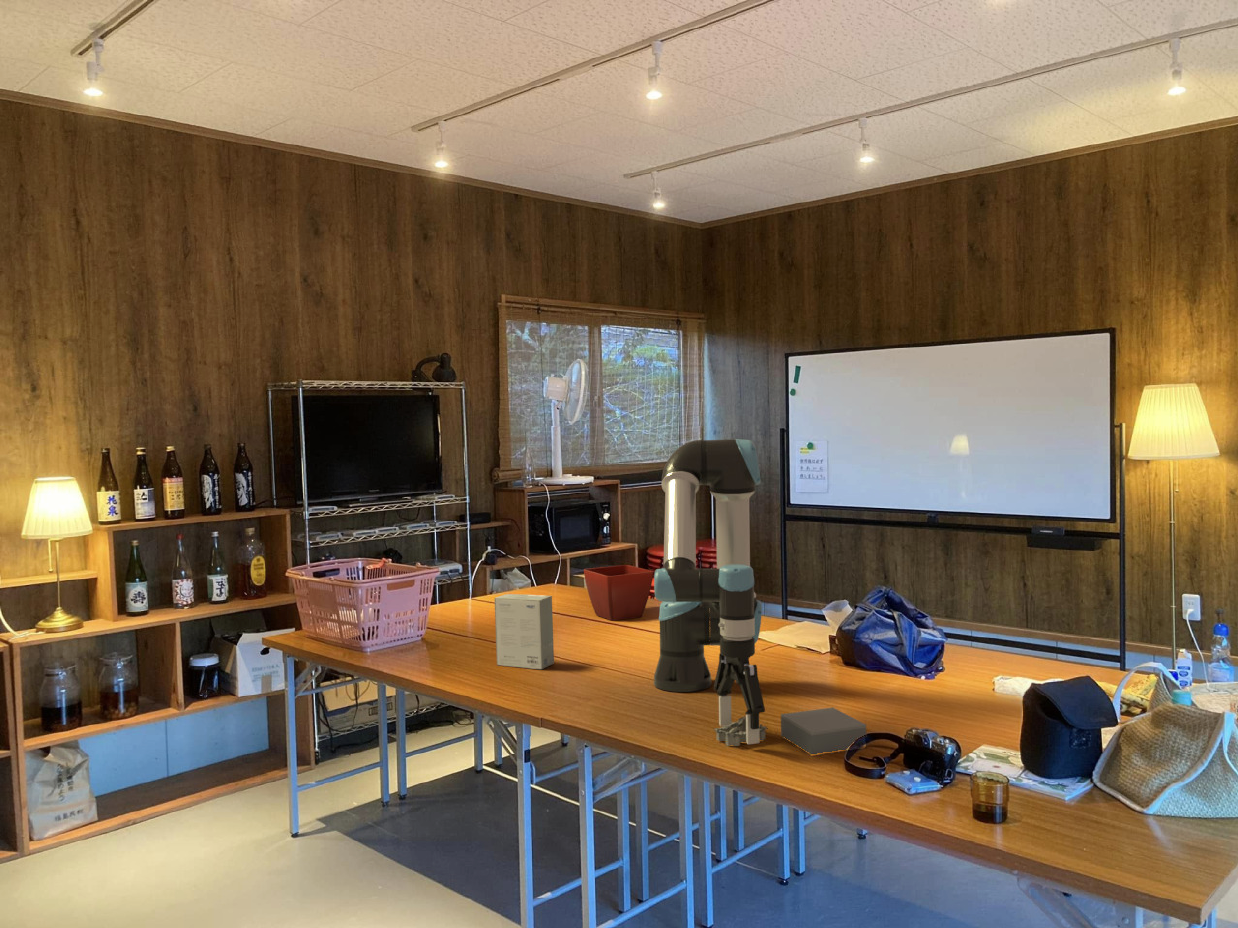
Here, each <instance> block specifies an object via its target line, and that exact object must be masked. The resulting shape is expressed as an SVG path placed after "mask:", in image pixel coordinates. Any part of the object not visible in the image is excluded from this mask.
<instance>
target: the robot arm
mask: <svg viewBox="0 0 1238 928" xmlns="http://www.w3.org/2000/svg"><path fill="white" fill-rule="evenodd" d="M670 455H671V456H670V457H669V458H668V460H667V461H666V463H665V465H664V467H663V470H662V474H661V488H662V491H663V492H664V493H665V496H664V501H665V502H664V537H663V539H664V540H663V567H662V568H657V569H655V571H654V574H653V580H654V581H653V582H654V584H653V585H654V587H653V589H654V598H655V599H656V601H659V602H660V605H659V616H658V621H659V650H660V651H659V659H658V662H657V664H656V668H655V672H654V674H653V685H654V687H655V688H656V689H659V690H662V691H666V692H674V693H675V692H676V693H677V692H678V693H690V692H699V691H702V690H706V689H708V688H710V687H711V686H712V675H711V672H710V669H709V665H708V662H707V660H706V657H705V646H719V654H718V665H717V669H716V674H715V680H714V684H713V690H714V691H716V693H717V696H718V725H719V726H720V727H722V726H724V725H729V724H732V722H733V720H732V694H733V693H732V688H733V686H734V683H736V684H737V686H739V688H740V691H741V695H742V698H743V700H744V703H745V706H746V711H745V712H744V713H745V716H746V743H747V745H755V744H760V742H761V741H760V740H759V727H760V714H761V713H765V712H766V709H765V704H764V699H763V695H762V690H761V685H760V681H759V676H758V667H757V664H750V657H753V656H754V655H756V654H755V653H756V645H755V644H756V643H757V642H758V641H759V635H760V631H761V624H762V613H763V612H762V610H763V604H762V601H761V600H758V599H757V594H756V592H755V577H754V569H753V568H752V566H751V551H750V550H751V548H750V547H751V546H750V545H751V541H750V540H751V537H750V534H751V533H750V532H751V531H750V498H751V496H753V495H754V494H755V493H756V486H758V485H761V483H762V481H761V470H760V465H759V459H758V457H759V456H758V453H757V447H756V444H755V442H754V441H752V440H750V439H739V438H730V439H729V438H728V439H705V440H704V439H696V440H691V441H688V442H686V443H685V444H682V445H681V446H680V447H678V448H677V449H676V450H675V451H674V452H673V453H672V454H670ZM700 486H709V493H710V494H711V496H713V497H714V498H715V531H716V532H715V533H716V534H715V535H716V537H715V538H716V568H697V562H696V561H697V560H696V559H697V558H696V557H697V551H696V548H697V547H696V546H697V539H696V538H697V537H696V534H697V531H696V529H697V528H696V522H697V519H696V518H697V517H696V514H697V513H696V512H697V511H696V510H697V508H696V505H697V504H696V496H697V495H696V494H697V492H698V491H699V490H700Z"/></svg>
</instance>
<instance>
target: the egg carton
mask: <svg viewBox="0 0 1238 928" xmlns="http://www.w3.org/2000/svg"><path fill="white" fill-rule="evenodd" d="M768 729H769V728H768V727H767V726H763V724H759V739H760V740H764V739H765V740H766V735H767V734H766V730H768ZM713 730H714V732H715V733H716V740H718V741H726V742H725V746H726V745H727V746H726V747H728V746H730V745H733V746H739V745H740V746H741V744H740V743H741V742H746V715H744V716H741V717H739V718H738V720H737V721H732V724H729V725H724V726H720V727H717V728H713Z"/></svg>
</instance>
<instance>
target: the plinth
mask: <svg viewBox="0 0 1238 928" xmlns="http://www.w3.org/2000/svg"><path fill="white" fill-rule="evenodd" d="M864 735H866V736H867V724H866V723H864V722H862V721H860V720H858V719H856V718H854V717H852V716H850V715H848V714H846V713H844V712H842V711H840V710H838V709H836V708H835V707H828V708H819V709H818V708H817V709H811V710H810V709H809V710H805V711H796V712H787V713H781V714H780V737H781V736H782V737H785V738H786V739H788V740H790V741H791V742H793V743H794V744H796V745H798V746H799V747H801V748H802V749H804V750H805V751H807V752H809V753H810V754H817V753H823V752H832V751H838V750H846V749H847V748H848V747H849V746H850V745H851V744H852V743H853V742H855V740H856V739H857V738H859V737H862V736H864ZM782 737H781V738H782Z"/></svg>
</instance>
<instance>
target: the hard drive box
mask: <svg viewBox="0 0 1238 928" xmlns="http://www.w3.org/2000/svg"><path fill="white" fill-rule="evenodd" d="M494 617H495V618H494V619H495V620H494V622H495V647H496V649H495V651H496V653H495V654H496V665H497V666H502V667H503V666H504V667H513V668H524V669H533V670H534V669H535V670H544V669H545V668H547V667H550V666H551V665H554V664H555V651H554V647H555V646H554V627H553V626H554V623H553V619H554V618H553V595H541V594H539V595H538V594H519V593H518V594H517V593H506V594H503V595H500V596H497V597H494Z"/></svg>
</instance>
